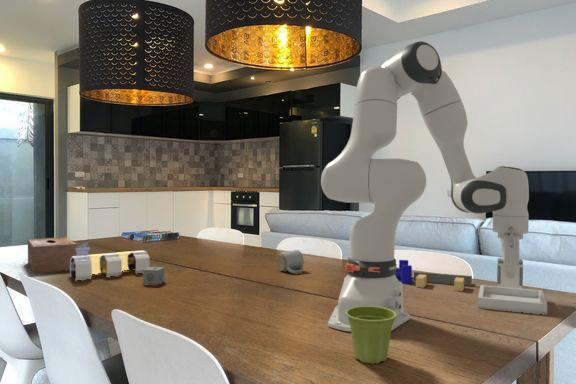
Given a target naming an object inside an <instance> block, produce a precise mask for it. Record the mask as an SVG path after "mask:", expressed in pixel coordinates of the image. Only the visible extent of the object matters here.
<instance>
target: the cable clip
mask: <svg viewBox="0 0 576 384" xmlns="http://www.w3.org/2000/svg"><path fill="white" fill-rule="evenodd" d="M412 267H413V266H412V264H411V265H410V264H409V260H408V259H399V260H398V267H397V268H396V274H395V276H396V278H397V279H398V280H399V281H400V282H401V283H402V285H404V284H405V285H407V284H408V285H412V278H413V277H412V275H413V274H412V273H413V272H412V271H413V268H412Z"/></svg>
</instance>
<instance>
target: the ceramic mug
mask: <svg viewBox="0 0 576 384" xmlns="http://www.w3.org/2000/svg"><path fill="white" fill-rule="evenodd" d="M304 263H305V260H304V256H303V254H302V252H301V250H299V249H293V250H289V251H288V250H287V251H282V252H280V253H278V255H277V256H276V266H277V268H278V270H279V271H280V272H282V271H283V273H287V271H288V272H289V273H291V274H294V275H299V274H298V273H300V274H302V273H303V271H304Z"/></svg>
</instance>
